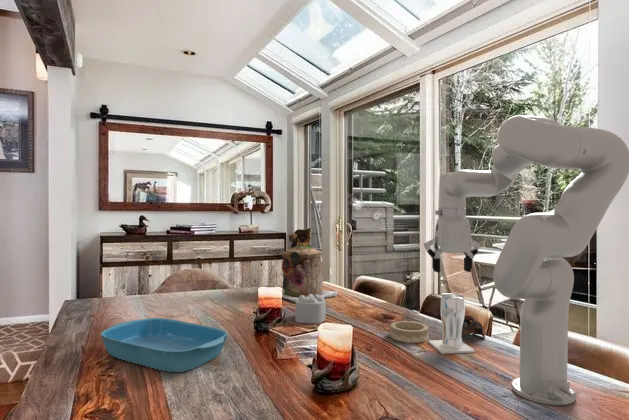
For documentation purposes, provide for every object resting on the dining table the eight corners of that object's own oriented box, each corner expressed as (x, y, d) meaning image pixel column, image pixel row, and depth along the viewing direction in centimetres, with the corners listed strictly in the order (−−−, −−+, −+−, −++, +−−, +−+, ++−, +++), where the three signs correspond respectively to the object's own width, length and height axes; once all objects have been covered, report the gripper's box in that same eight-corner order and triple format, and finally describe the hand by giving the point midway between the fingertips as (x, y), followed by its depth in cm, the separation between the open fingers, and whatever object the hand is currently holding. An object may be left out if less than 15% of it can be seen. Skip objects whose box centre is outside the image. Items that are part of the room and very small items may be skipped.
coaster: (474, 352, 123) (474, 350, 123) (441, 353, 122) (441, 351, 122) (458, 341, 133) (458, 339, 133) (428, 342, 131) (428, 340, 131)
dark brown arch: (492, 343, 133) (482, 322, 131) (463, 355, 134) (453, 334, 132) (478, 323, 144) (469, 303, 142) (452, 334, 145) (443, 315, 144)
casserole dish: (242, 355, 120) (243, 330, 120) (186, 384, 100) (186, 354, 100) (149, 336, 136) (149, 314, 136) (84, 358, 116) (84, 332, 116)
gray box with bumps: (292, 322, 153) (292, 298, 153) (303, 313, 166) (303, 291, 166) (320, 324, 150) (320, 300, 150) (329, 315, 163) (329, 293, 163)
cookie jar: (306, 288, 216) (307, 225, 215) (339, 296, 197) (340, 227, 196) (265, 294, 200) (266, 226, 199) (297, 304, 181) (298, 229, 181)
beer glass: (438, 346, 126) (438, 296, 125) (442, 340, 132) (443, 292, 132) (462, 350, 122) (463, 299, 122) (466, 343, 129) (466, 294, 128)
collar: (433, 342, 132) (433, 330, 132) (397, 343, 130) (397, 331, 130) (419, 331, 143) (419, 320, 143) (386, 332, 142) (386, 321, 142)
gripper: (429, 214, 122) (429, 273, 122) (486, 214, 124) (485, 273, 124) (420, 214, 129) (419, 270, 129) (473, 214, 131) (473, 269, 131)
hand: (452, 271), depth 127 cm, fingers open, 9 cm apart
